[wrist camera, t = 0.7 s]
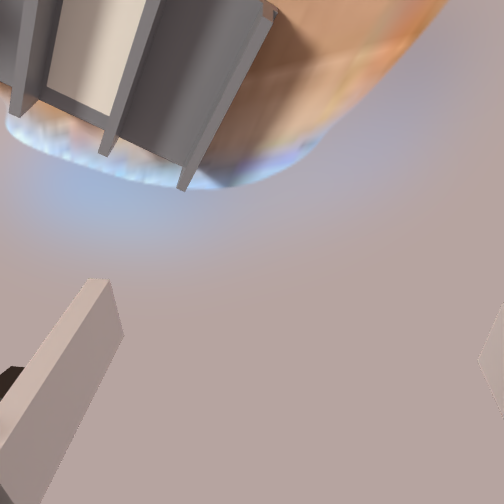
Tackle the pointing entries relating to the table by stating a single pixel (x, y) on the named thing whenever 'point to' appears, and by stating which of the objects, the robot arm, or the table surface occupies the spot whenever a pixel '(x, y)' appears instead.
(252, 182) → the table surface
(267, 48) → the table surface
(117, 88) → the rack
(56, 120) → the table surface
